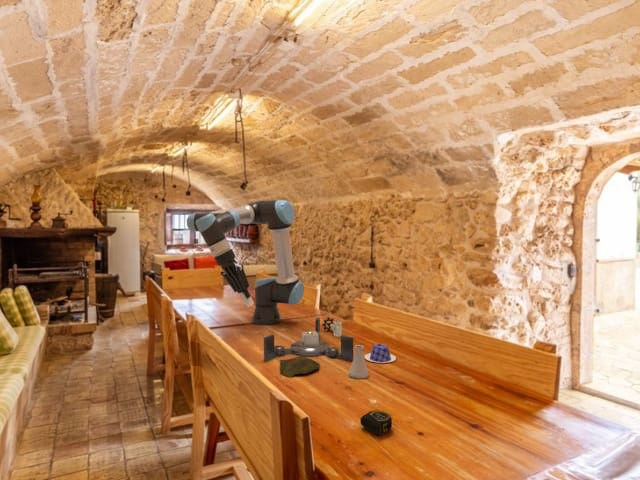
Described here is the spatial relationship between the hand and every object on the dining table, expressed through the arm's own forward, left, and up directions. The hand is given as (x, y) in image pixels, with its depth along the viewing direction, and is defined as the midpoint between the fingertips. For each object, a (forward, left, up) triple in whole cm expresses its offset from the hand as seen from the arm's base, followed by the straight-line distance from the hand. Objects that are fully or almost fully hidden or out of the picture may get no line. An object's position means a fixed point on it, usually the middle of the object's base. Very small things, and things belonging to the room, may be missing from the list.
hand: (250, 305), depth 158 cm
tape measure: (+65, +30, -20) cm, 74 cm away
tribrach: (-3, +25, -20) cm, 32 cm away
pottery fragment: (+18, +16, -21) cm, 32 cm away
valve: (-25, +39, -20) cm, 50 cm away
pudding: (+13, +49, -20) cm, 54 cm away
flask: (+28, +36, -20) cm, 50 cm away
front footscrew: (+4, +9, -20) cm, 22 cm away
